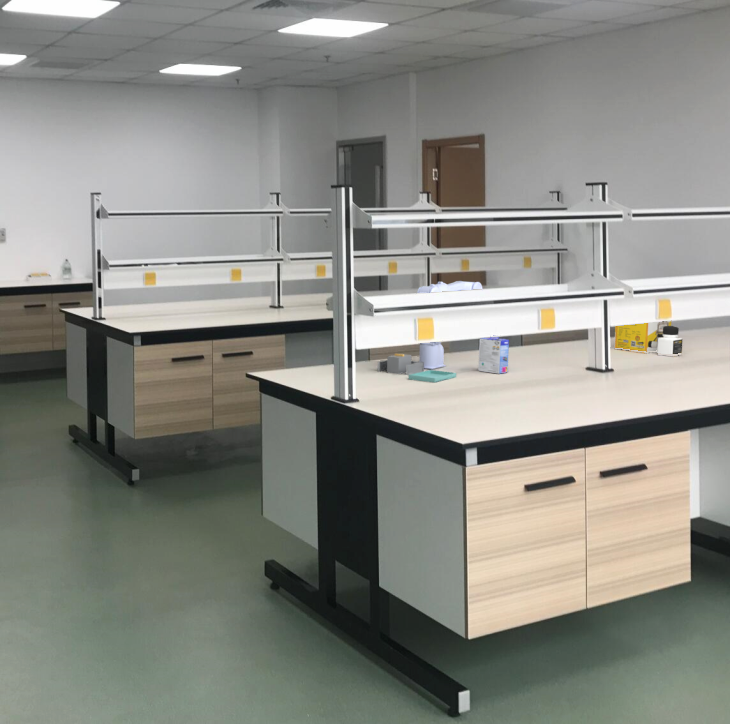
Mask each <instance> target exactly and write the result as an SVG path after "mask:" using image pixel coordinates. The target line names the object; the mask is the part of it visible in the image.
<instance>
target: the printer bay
mask: <svg viewBox="0 0 730 724" xmlns="http://www.w3.org/2000/svg"><path fill="white" fill-rule="evenodd" d="M384 371H387V359H385V360H380V361H379V360H378V361H377V372H384ZM423 371H425V368H424V362H419V361H418V360H411V364H409V365H406V372H405V375H407V376H409V375H411V374H415V373H419V372H423Z"/></svg>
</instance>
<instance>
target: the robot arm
mask: <svg viewBox="0 0 730 724" xmlns="http://www.w3.org/2000/svg"><path fill="white" fill-rule="evenodd" d="M473 289H482V290H483V285H482V283H481V282H480V281H476V282H475V281H462V280H456V281H454V282H451V283H448V284H447V283H445V282H443V281H437V283H436V284H434V283H430V285H422V286H420V287H418V289H417V292H416V294H417V293H431V292H442V291H461V290H473ZM444 349H445V348H444V347H443V345H442V342H430V343H419V356H418V357H419V358H418V359H419V362H424V369H426V370H427V369H428V370H436V369H439V368H444V367H446V364H444V362H445V361H444V360H445V359H444V358H445V356H444V354H445V353H444V352H445V350H444Z"/></svg>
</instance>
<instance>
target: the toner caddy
mask: <svg viewBox="0 0 730 724" xmlns="http://www.w3.org/2000/svg"><path fill="white" fill-rule="evenodd" d="M386 357H387V359H386V360H387V370H386V373H387V374H394V375H395V374H396V375H401V374H404V373H405V374H406V365H409V364H411V361H412V354H404V353H394V354H393V355H388V356H386Z"/></svg>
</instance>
